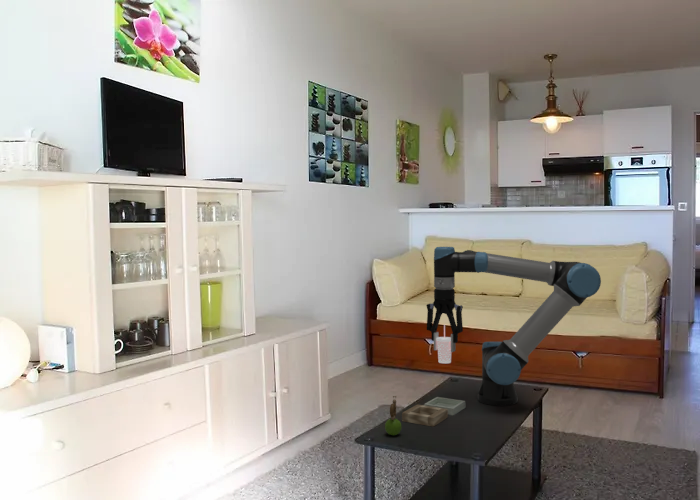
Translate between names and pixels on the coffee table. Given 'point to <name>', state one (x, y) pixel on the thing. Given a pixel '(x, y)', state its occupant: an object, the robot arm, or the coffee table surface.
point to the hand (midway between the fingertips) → (444, 350)
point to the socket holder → (425, 415)
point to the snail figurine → (393, 421)
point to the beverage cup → (444, 349)
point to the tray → (447, 404)
